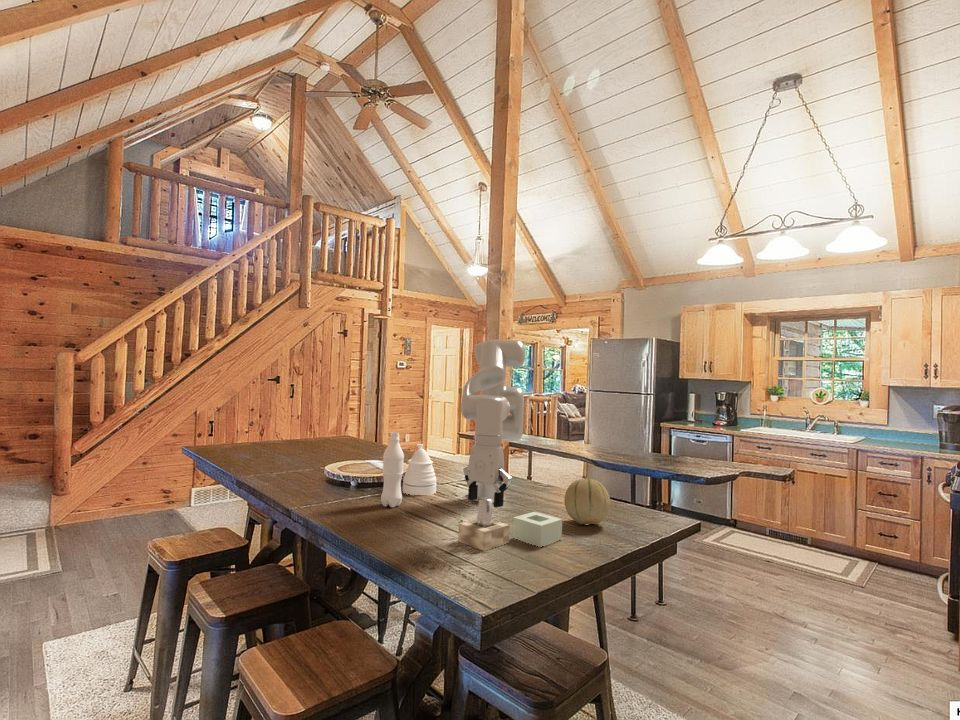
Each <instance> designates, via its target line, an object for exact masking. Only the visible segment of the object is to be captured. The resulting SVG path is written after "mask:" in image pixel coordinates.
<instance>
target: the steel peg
mask: <svg viewBox="0 0 960 720" xmlns="http://www.w3.org/2000/svg"><path fill="white" fill-rule="evenodd" d="M492 502H493V499H492V498H489V497H480V498H478V502H477V518H476V519H477V526H480V527H483V528H487V527H490V526H491V525H492V520H493V503H492Z"/></svg>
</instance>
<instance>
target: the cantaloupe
mask: <svg viewBox="0 0 960 720" xmlns="http://www.w3.org/2000/svg"><path fill="white" fill-rule="evenodd" d="M563 501H564V507H565V510H566V512H567V514H568V516H569V517H570V518H571V519H572V520H573V521H574V522H576V523H577V524H580V525H582V524H594V525H597V523H598V524H601V522H604V520H605V519H607V517H608V515H609V513H610V509H611V496H610V493H609V491H608V490H607V488H606V487H605V486H604V484H602V482H600V481H598V480H596V479H592V478H588V476H586V475H582V477H581V479H580V478H579V479H577V480H576V479H575V480H574V481H573V482H571V483H570V484H569V486H568V487H567V489H566V491H565V494H564V500H563Z"/></svg>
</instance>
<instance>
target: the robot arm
mask: <svg viewBox="0 0 960 720" xmlns="http://www.w3.org/2000/svg"><path fill="white" fill-rule="evenodd" d="M524 345H525V344H524V343H523V342H522V341H520V340H515V339H514V340H513V339H500V338H499V339H489V340H486V341H482V342H478V343H477V344H476V345H475V347H474V354H475V355H474V356H475V359H476V361H477V364H478V366H479V371H477V372H475V373H474V374H473V375H472V376H471V377H470V378H469V379H468V380H467V381H466V382H465V384H464V386H463V389H462V393H461V394H462V396H461V402H460V412H461V415H462V416H463V418H464V419H466V420H469V421H475V427H474V428H475V429H474V435H473V437H472V438H473V440H474V444H472V446H471V449H470V454H469V458H468V459H469V460H468V466H466V467H464V468H463V470H462V471H463V474H464V479H465V481H466V485H467V486H468V495H467V499H468V501H475V502H477V503H478V498H480V497H489V498H492V499H493V502H492V504H493V507H494V508H496V509H497V508H501V507H503V506H504V501H505V500H506V497H505V492H506V491H507V489H508V488H510V484H511V482H512V480H513V479H512V476H511V475H509V473H507V472H506V471H505V454H504V448H503V447H502V441H505V442H506V441H507V442H516V441H520V440H521V439H522V436H523V433H524V418H525V417H524V416H525V414H524V413H525V395H524V392H523V390H522V389H521V388H520V387H517V386H506V384H505V382H506V381H505V380H506V376H507V374H506V373H507V367H510V368H513V367H514V368H520V367H522V366H523V365H524V363H525V360H526V348H525V346H524ZM479 392H480V393H481V394H477V393H479ZM510 414H511V415H510Z"/></svg>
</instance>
